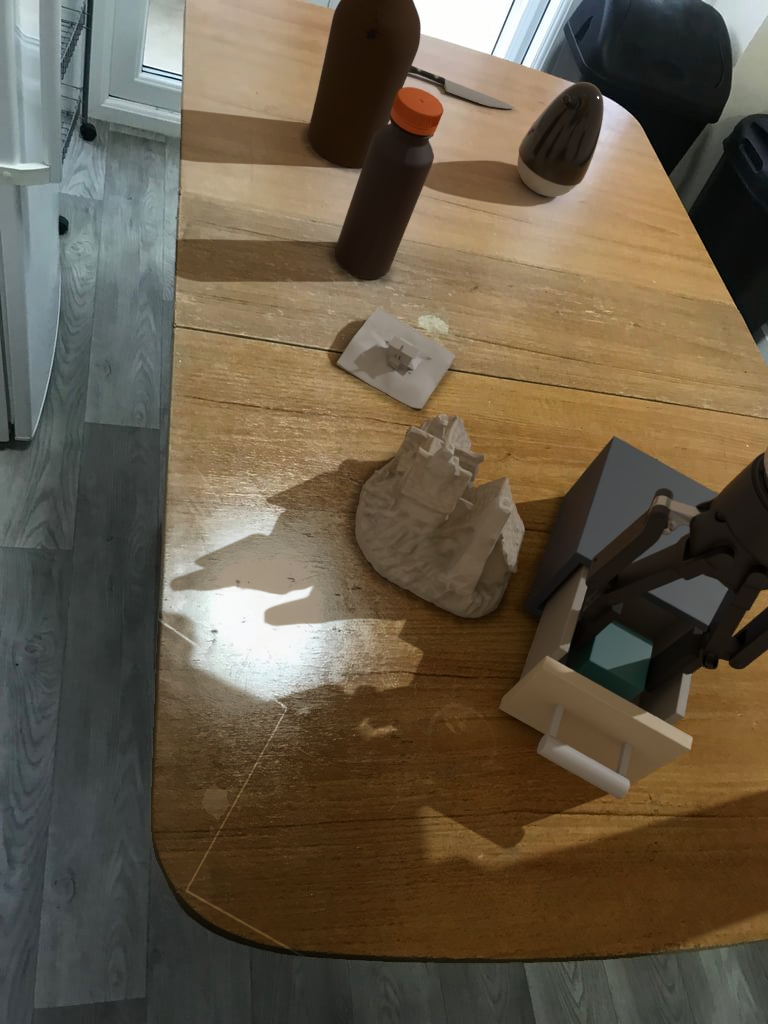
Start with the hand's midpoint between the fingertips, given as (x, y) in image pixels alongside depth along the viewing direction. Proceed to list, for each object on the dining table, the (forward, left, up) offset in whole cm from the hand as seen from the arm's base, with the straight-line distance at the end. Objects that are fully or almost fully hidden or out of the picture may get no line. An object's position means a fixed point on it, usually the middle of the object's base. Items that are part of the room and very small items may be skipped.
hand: (613, 657), depth 69 cm
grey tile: (+29, -25, -6) cm, 39 cm away
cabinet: (0, -12, -6) cm, 14 cm away
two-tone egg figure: (+26, -75, -6) cm, 80 cm away
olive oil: (+51, -58, -6) cm, 78 cm away
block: (0, 0, -4) cm, 4 cm away
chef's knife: (+44, -88, -6) cm, 99 cm away
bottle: (+39, -38, -6) cm, 55 cm away
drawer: (0, +2, -5) cm, 5 cm away
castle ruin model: (+17, -7, -6) cm, 20 cm away
